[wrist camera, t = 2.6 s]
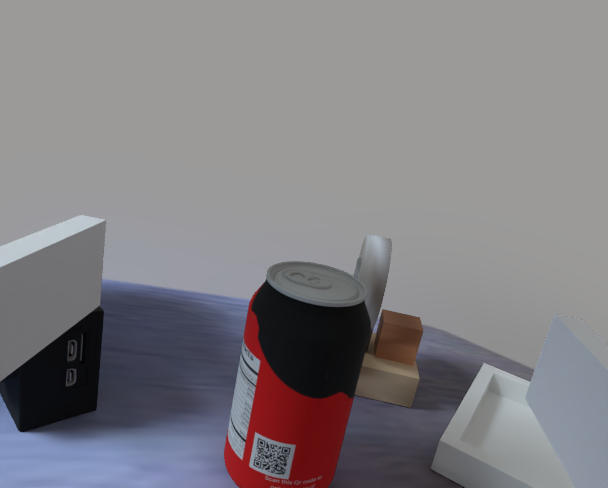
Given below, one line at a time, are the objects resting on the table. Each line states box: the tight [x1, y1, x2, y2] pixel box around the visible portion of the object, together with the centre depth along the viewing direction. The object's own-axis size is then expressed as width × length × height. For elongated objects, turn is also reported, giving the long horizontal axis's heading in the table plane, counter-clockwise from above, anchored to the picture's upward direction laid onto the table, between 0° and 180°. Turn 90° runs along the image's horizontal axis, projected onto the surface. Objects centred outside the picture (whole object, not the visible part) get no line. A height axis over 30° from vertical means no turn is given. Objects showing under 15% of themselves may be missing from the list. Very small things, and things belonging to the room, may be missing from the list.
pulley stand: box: [354, 234, 423, 408], centre depth 39 cm, size 10×7×12 cm
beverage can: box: [224, 261, 371, 488], centre depth 27 cm, size 6×6×12 cm
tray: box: [431, 363, 575, 488], centre depth 33 cm, size 13×13×2 cm
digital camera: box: [0, 306, 104, 432], centre depth 31 cm, size 10×5×7 cm, turn 42°
